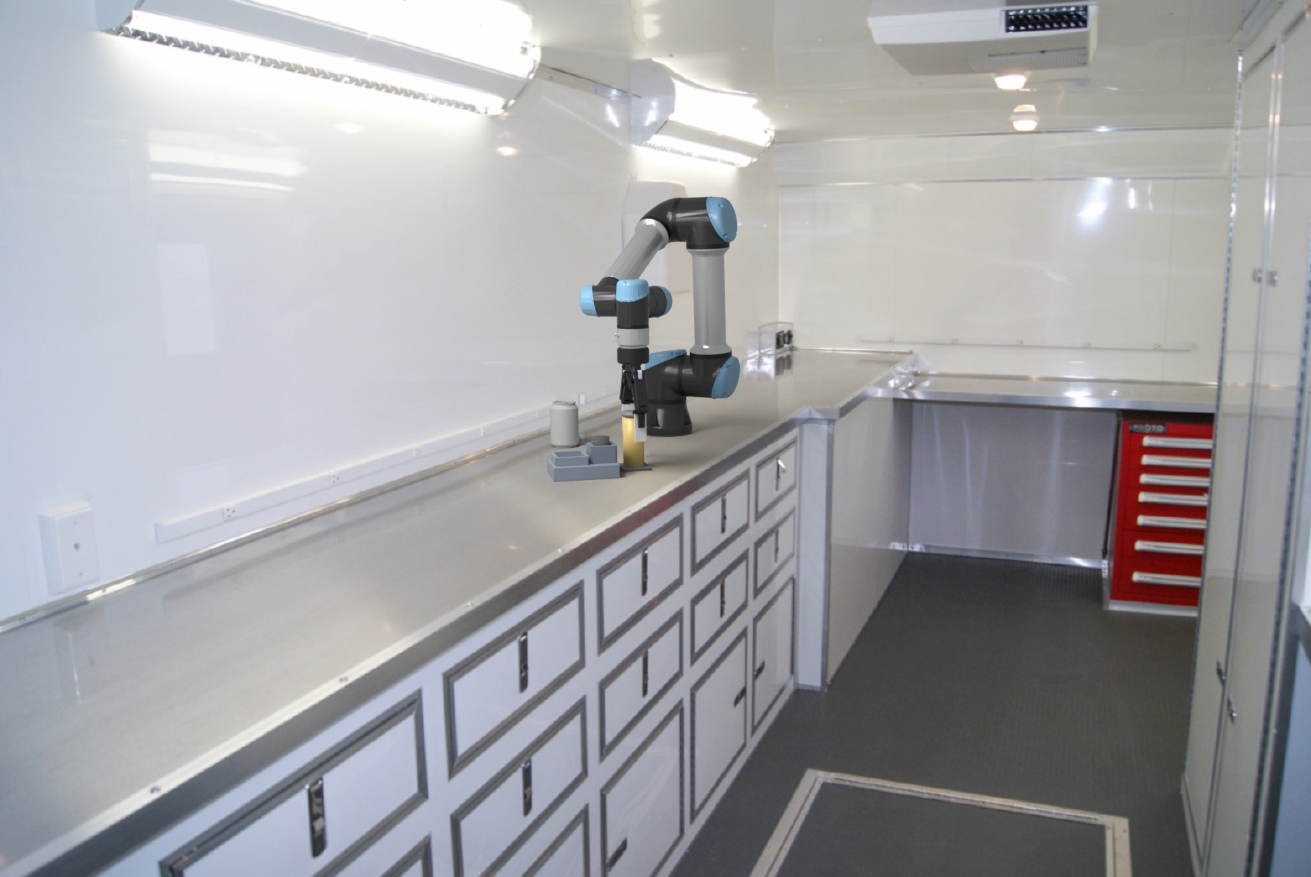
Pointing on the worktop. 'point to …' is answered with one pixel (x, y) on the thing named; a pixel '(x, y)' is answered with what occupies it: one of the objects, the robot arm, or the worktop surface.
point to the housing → (584, 463)
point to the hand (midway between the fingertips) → (634, 436)
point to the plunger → (601, 440)
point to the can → (564, 424)
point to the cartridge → (631, 443)
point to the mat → (627, 469)
